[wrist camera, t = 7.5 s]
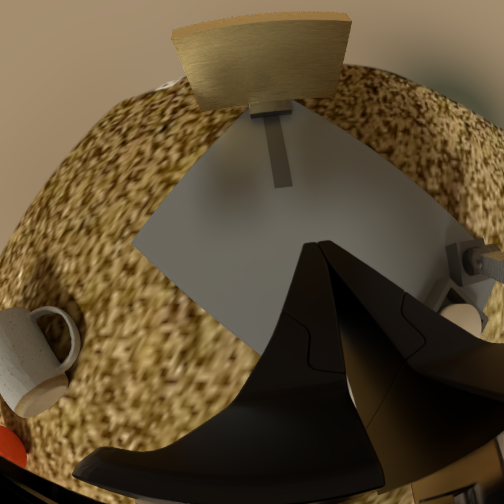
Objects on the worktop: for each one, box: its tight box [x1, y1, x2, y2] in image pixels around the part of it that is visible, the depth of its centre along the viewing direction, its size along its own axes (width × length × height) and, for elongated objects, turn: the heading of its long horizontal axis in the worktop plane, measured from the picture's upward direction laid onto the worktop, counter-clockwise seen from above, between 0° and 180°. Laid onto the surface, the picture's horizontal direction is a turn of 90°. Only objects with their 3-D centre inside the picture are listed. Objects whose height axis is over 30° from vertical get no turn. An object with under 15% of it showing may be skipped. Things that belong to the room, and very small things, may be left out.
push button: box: [437, 304, 482, 339], centre depth 14 cm, size 4×4×2 cm
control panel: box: [131, 99, 496, 376], centre depth 17 cm, size 16×24×4 cm
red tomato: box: [0, 426, 27, 468], centre depth 15 cm, size 8×7×7 cm
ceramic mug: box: [0, 306, 81, 418], centre depth 17 cm, size 11×8×8 cm
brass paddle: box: [171, 12, 352, 119], centre depth 15 cm, size 3×10×8 cm, turn 97°
